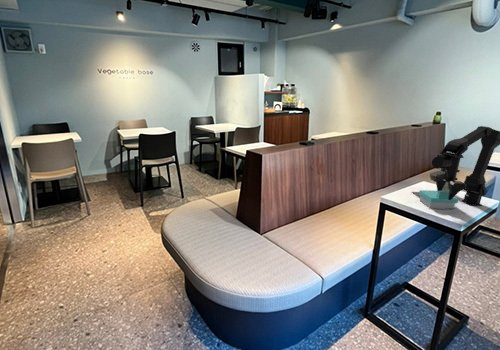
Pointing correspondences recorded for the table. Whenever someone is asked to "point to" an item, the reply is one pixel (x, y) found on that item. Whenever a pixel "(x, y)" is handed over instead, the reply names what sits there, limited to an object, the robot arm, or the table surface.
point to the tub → (436, 204)
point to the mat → (417, 194)
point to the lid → (437, 196)
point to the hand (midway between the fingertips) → (444, 196)
